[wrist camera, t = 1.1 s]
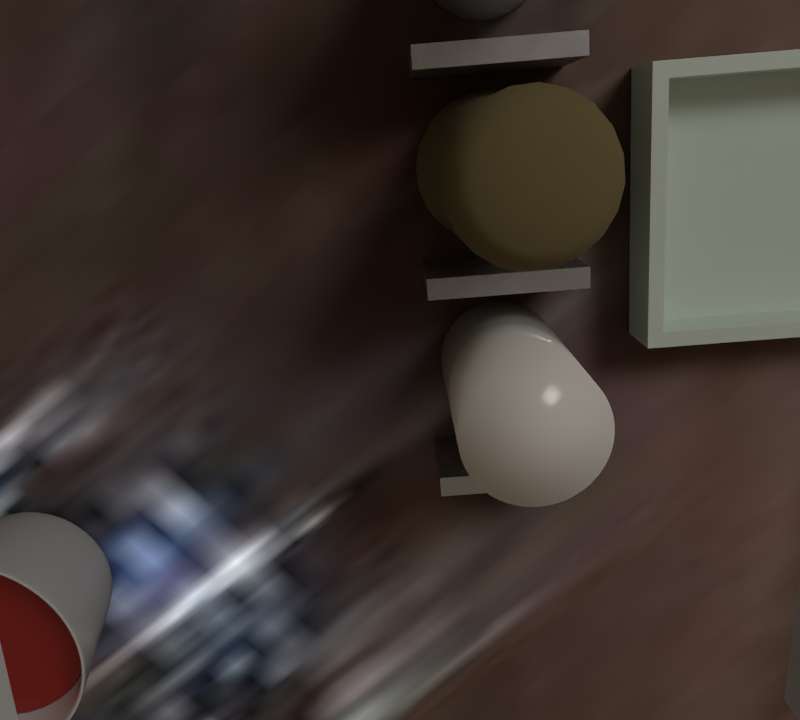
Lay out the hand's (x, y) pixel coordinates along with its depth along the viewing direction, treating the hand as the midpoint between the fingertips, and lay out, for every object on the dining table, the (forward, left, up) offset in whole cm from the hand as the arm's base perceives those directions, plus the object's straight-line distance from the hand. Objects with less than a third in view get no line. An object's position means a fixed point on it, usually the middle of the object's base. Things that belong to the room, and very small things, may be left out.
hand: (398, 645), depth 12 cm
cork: (-6, +4, -21) cm, 22 cm away
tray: (-4, +15, -21) cm, 26 cm away
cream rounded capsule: (+2, +4, -21) cm, 21 cm away
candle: (+11, -18, -21) cm, 29 cm away
